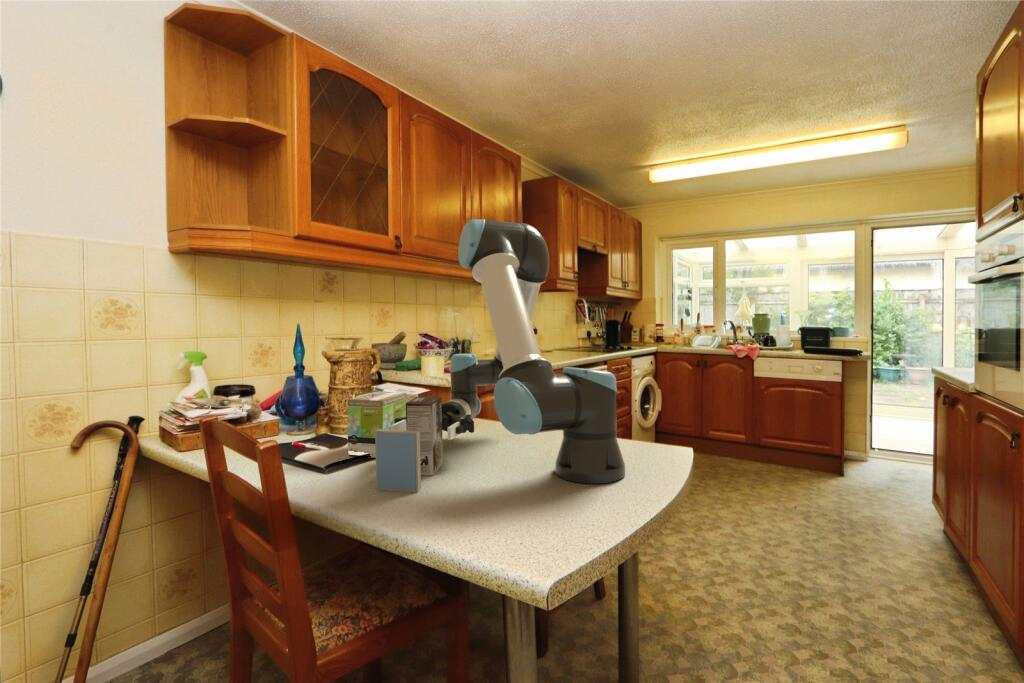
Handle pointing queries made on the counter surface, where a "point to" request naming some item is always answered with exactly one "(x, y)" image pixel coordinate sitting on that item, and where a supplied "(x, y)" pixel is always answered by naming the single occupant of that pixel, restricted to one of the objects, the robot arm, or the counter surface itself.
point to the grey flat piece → (398, 460)
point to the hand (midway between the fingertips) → (420, 432)
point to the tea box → (372, 418)
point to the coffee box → (427, 431)
